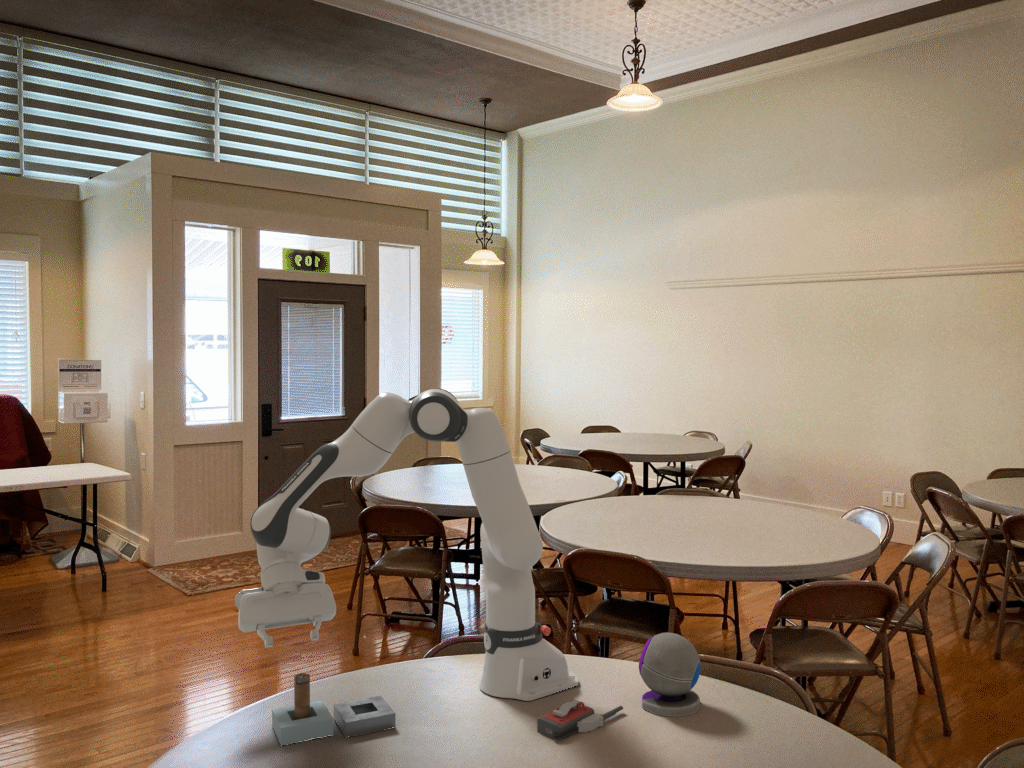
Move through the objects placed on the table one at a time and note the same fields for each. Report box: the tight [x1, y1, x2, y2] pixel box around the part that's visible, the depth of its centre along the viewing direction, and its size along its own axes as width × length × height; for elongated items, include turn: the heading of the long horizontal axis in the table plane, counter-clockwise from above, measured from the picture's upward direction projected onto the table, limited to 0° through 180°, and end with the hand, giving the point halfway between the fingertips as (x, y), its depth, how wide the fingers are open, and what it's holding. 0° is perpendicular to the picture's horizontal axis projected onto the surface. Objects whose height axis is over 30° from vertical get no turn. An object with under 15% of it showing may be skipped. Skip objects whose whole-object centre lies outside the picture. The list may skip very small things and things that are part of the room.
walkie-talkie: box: [536, 699, 624, 741], centre depth 166 cm, size 9×4×20 cm
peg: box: [293, 672, 311, 720], centre depth 163 cm, size 3×3×11 cm
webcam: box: [638, 632, 701, 717], centre depth 175 cm, size 13×13×15 cm
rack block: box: [271, 699, 334, 746], centre depth 163 cm, size 10×10×4 cm
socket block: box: [333, 695, 397, 738], centre depth 167 cm, size 10×10×3 cm
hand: (292, 642), depth 171 cm, fingers open, 8 cm apart
